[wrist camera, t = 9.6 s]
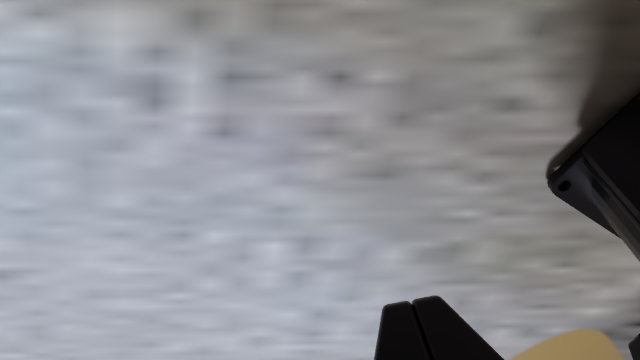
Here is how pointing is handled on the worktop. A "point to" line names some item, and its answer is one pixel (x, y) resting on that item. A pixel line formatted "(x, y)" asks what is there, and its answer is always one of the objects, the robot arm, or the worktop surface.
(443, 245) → the worktop surface
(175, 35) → the worktop surface
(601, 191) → the robot arm
